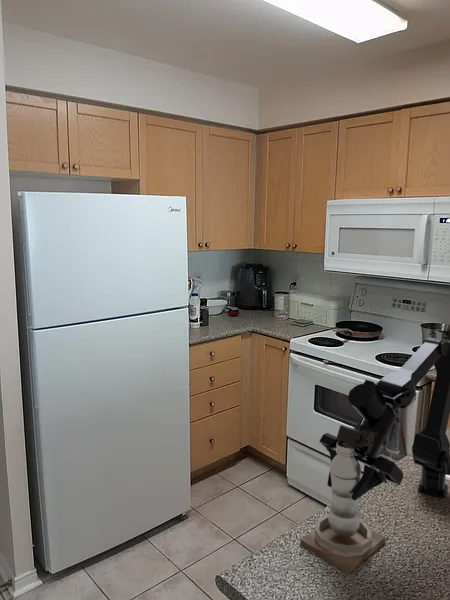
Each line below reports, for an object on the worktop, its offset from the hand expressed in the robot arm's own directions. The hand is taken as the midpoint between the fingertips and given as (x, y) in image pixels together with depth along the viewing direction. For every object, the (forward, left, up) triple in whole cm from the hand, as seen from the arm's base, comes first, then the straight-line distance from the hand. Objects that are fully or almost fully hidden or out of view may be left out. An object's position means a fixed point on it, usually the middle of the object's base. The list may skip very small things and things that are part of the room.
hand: (340, 492), depth 101 cm
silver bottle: (-1, +1, -10) cm, 10 cm away
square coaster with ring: (-1, 0, -12) cm, 12 cm away
